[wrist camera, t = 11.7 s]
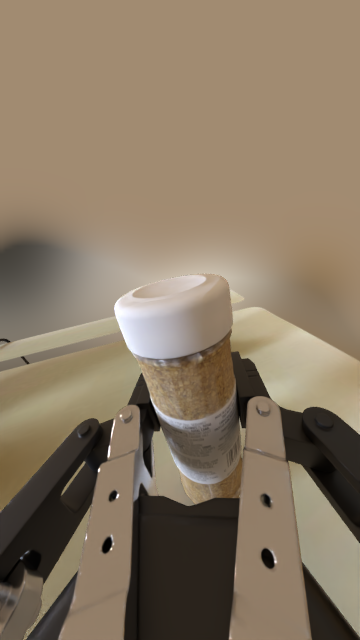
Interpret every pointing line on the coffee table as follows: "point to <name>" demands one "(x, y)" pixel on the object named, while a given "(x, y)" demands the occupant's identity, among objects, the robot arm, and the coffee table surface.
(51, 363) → the coffee table surface
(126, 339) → the spice jar
